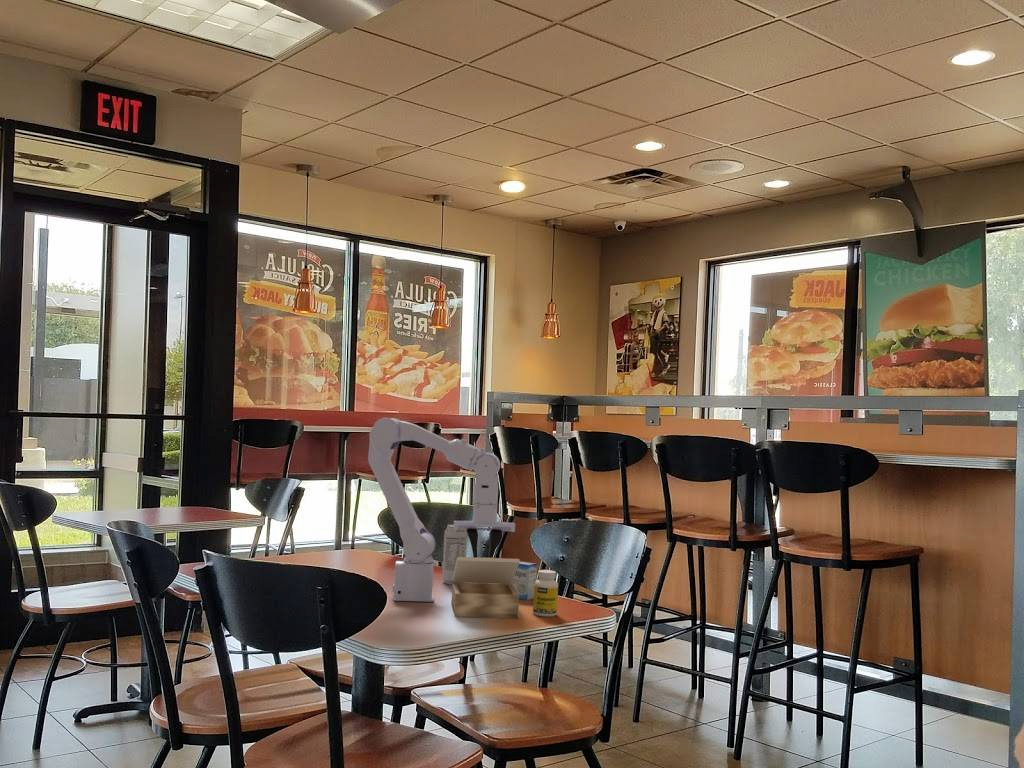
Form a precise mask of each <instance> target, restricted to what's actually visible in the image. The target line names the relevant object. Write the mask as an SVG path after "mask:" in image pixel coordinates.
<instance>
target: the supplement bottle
mask: <svg viewBox="0 0 1024 768" xmlns="http://www.w3.org/2000/svg"><path fill="white" fill-rule="evenodd" d="M537 571H538V572H537V578H538V579H536V582H535V586H534V598H533V603H532V604H533V605H532V613H533V615H534V616H538V617H555V616H556V615H557V612H558V596H559V595H558V594H559V583H558V582H557V581H556V580H555V579H556V575H557V572H556V571H555V570H552V569H540V570H537Z"/></svg>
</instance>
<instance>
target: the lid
mask: <svg viewBox="0 0 1024 768" xmlns="http://www.w3.org/2000/svg"><path fill="white" fill-rule="evenodd" d="M520 562H521V560H520V558H505V557H504V558H503V557H502V558H501V557H500V558H499V557H492V558H488V556H487V557H486V556H485V557H483V556H482V557H477V558H475V557H473V556H471V557H469V556H468V557H467V556H466V557H457V560H456V565H455V570H454V574H453V582H460V583H486V584H512V582H513V579H514V576H515V574H516V571H517V568H518V565H519V563H520Z"/></svg>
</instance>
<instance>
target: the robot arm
mask: <svg viewBox="0 0 1024 768" xmlns="http://www.w3.org/2000/svg"><path fill="white" fill-rule="evenodd" d="M368 436H369V447H368V455H367V461H368V465H369V466H370V468H371V471H372V473H373V474H374V477H375V479H376V482H377V483H378V485H379V488H380V489H381V491H382V494H383V496H384V498H385V500H386V502H387V505H388V507H389V509H390V510H391V512H392V514H393V517H394V520H395V521H396V523H397V525H398V527H399V536H400V538H401V540H402V543H403V544H402V545H403V546H402V551H403V554H404V557H403V560H396V561H395V564H394V565H395V567H394V581H393V584H392V590H391V591H392V593H393V601H394V602H395V601H397V602H435V598H434V596H435V595H434V593H433V585H434V583H433V582H434V564H435V559H434V557H433V556H432V553H434V551H435V549H436V545H437V544H436V539H435V537H434V535H433V534H432V533H431V532H429V531H428V530H427V529H426V527H425V525H424V524H423V522H422V521H421V520H420V518H419V517H418V515H417V513H416V511H415V508H414V506H413V504H412V503H411V500H410V498H409V496H408V494H407V492H406V490H405V488H404V485H403V484H402V482H401V479H400V477H399V476H398V473H397V471H396V468H395V467H394V465H393V462H392V457H393V455H394V452H395V450H396V448H397V446H398V445H399V444H400V443H401V442H405V441H407V442H408V441H409V442H410V441H414V442H416V443H419V444H422V445H423V446H426V447H428V448H431V449H434V450H436V451H439V452H441V453H442V454H444V456H445V458H446V461H448V462H450V463H452V464H454V465H456V466H458V467H461V468H463V469H465V470H468V471H470V472H472V471H474V473H475V481H474V482H475V483H474V490H473V506H472V508H473V510H472V520H453V525H454V528H453V529H454V530H459V529H460V530H466V531H467V537H468V539H469V542H470V545H471V550H472V557H475V558H478V542H479V541H478V538H479V533H478V531H489V541H488V542H489V543H488V544H489V547H488V555H487V558H494V557H493V556H494V553H495V551H496V549H497V548H496V547H497V545H498V543H499V541H500V540H501V537H502V536H503V535H502V534H503V532H511V533H515V532H516V523H515V522H504V521H502V522H501V521H497V519H498V517H497V516H498V502H499V501H498V498H499V484H498V482H499V474H498V473H499V471H500V469H501V461H500V459H499V457H498V456H497V455H496V454H494V453H493V452H490V451H487V452H485V451H486V449H485V448H483V447H480V448H478V447H477V446H475V445H472V444H470V443H469V442H468V440H467V439H465V438H461V439H459V438H454V439H452V440H448V439H446V438H444V437H442V436H440V435H438V434H436V433H434V432H432V431H429V430H428V429H425V428H424V427H422V426H419V425H417V424H415V423H413V422H412V423H411V422H408V421H405V420H401V419H399V418H395V417H390V418H389V417H382V418H379V419H377V420H376V421H375V423H374V424H373V426H372V427H371V430H370V432H369V434H368Z"/></svg>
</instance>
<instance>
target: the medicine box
mask: <svg viewBox="0 0 1024 768" xmlns="http://www.w3.org/2000/svg"><path fill="white" fill-rule="evenodd" d="M537 571H538V563H535V562H534V563H533V562H527V561H520V563H519V565H518V568H517V571H516V574H515V576H514V579H513V582H512V585H513V587H514V589H515V590H516V592H517V593H518V595H519V600H524V601H529V600H534V586H535V582H536V581H537V575H538V572H537Z"/></svg>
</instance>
